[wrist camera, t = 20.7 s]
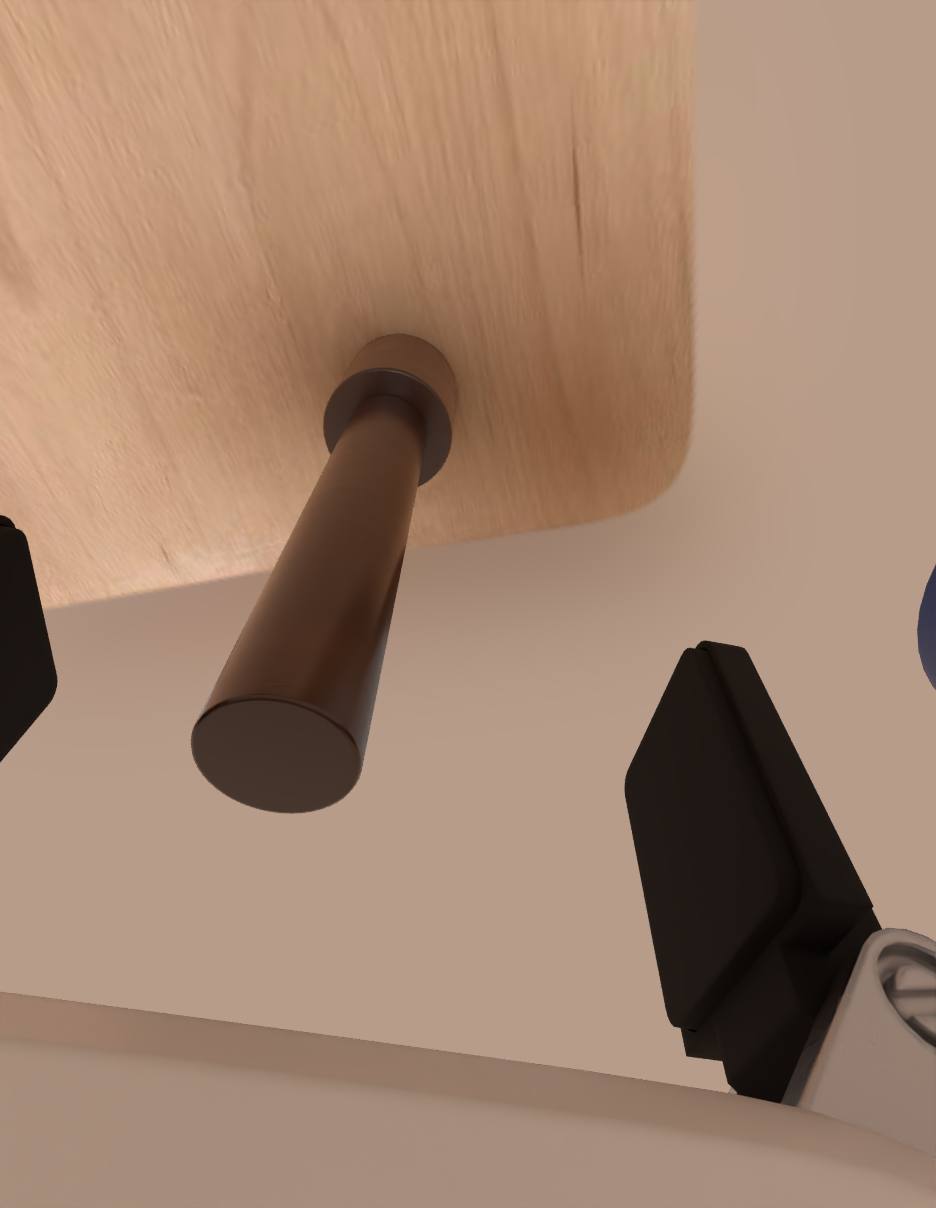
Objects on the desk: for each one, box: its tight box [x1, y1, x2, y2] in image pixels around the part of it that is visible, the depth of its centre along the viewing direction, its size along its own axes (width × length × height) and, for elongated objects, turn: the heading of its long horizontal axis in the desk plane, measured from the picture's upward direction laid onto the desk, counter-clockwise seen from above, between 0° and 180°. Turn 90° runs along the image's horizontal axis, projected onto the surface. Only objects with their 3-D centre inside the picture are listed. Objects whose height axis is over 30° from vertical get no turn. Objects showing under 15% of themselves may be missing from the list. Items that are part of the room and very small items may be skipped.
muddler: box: [191, 334, 456, 814], centre depth 15 cm, size 4×4×16 cm
